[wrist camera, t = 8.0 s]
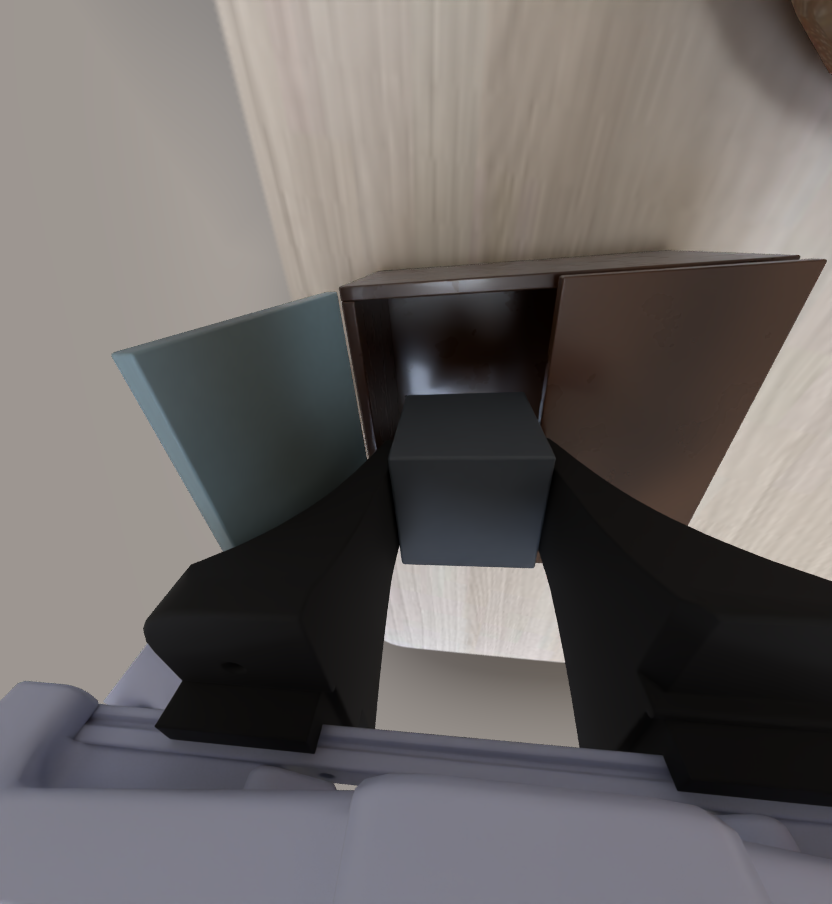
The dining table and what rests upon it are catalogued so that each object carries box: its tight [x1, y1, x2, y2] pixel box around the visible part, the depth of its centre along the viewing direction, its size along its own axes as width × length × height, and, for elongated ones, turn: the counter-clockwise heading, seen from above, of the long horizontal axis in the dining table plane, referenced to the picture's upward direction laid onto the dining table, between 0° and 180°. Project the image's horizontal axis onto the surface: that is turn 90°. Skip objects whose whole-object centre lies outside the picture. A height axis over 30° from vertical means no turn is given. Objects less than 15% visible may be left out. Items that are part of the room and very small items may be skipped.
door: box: [112, 292, 367, 552], centre depth 9 cm, size 6×11×1 cm
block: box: [388, 392, 556, 568], centre depth 10 cm, size 4×4×4 cm
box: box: [339, 250, 827, 563], centre depth 14 cm, size 12×11×7 cm
